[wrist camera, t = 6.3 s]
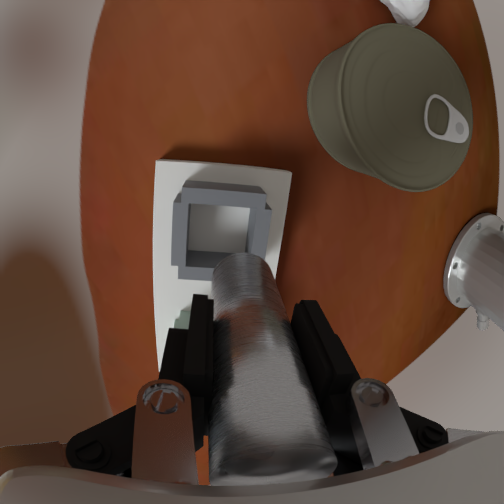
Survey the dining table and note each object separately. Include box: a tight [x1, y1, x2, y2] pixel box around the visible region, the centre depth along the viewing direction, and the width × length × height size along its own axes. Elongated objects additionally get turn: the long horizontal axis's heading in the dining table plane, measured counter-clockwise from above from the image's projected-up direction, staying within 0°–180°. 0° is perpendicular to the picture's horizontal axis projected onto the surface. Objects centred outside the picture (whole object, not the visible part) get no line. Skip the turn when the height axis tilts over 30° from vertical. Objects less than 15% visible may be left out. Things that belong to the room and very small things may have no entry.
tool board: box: [153, 159, 292, 372], centre depth 24 cm, size 20×10×4 cm, turn 173°
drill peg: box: [208, 252, 337, 486], centre depth 10 cm, size 3×3×10 cm
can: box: [307, 23, 473, 192], centre depth 19 cm, size 12×12×7 cm
